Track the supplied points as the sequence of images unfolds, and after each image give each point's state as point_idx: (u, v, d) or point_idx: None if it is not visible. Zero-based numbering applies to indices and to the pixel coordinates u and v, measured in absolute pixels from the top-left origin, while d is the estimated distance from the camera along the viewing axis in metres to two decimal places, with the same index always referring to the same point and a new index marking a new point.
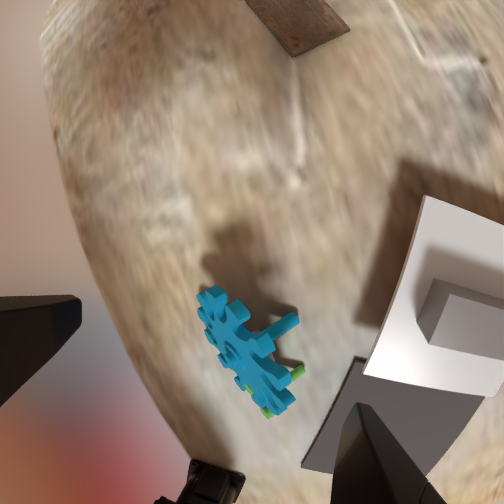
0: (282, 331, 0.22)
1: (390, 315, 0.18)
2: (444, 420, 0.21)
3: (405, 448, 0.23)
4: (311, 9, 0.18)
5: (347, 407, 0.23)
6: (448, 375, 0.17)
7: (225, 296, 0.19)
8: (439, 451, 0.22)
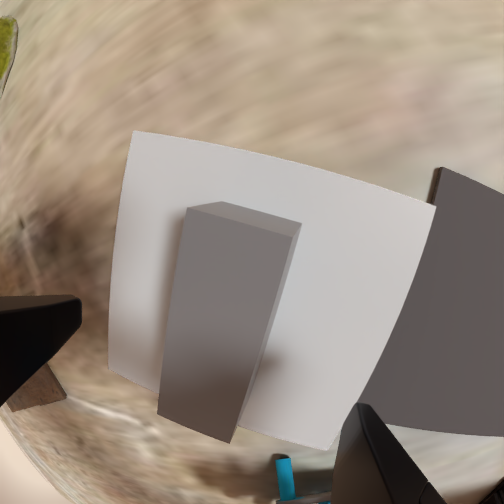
0: (285, 481, 0.16)
1: (240, 424, 0.13)
2: (493, 256, 0.12)
3: None
4: None
5: (421, 415, 0.15)
6: (355, 339, 0.11)
7: None
8: None
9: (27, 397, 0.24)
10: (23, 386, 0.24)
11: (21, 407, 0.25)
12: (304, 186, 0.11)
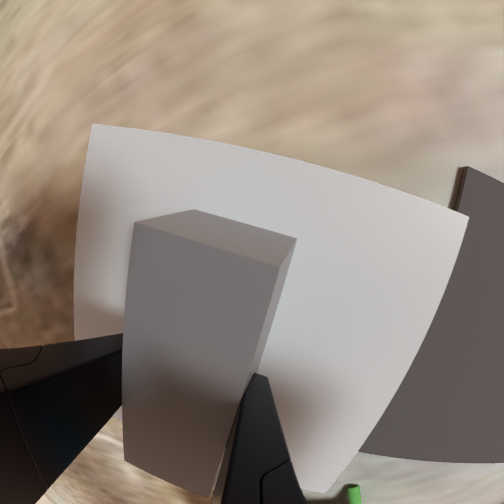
0: None
1: None
2: None
3: None
4: None
5: (431, 447, 0.12)
6: (362, 381, 0.09)
7: None
8: None
9: None
10: None
11: None
12: (299, 190, 0.08)
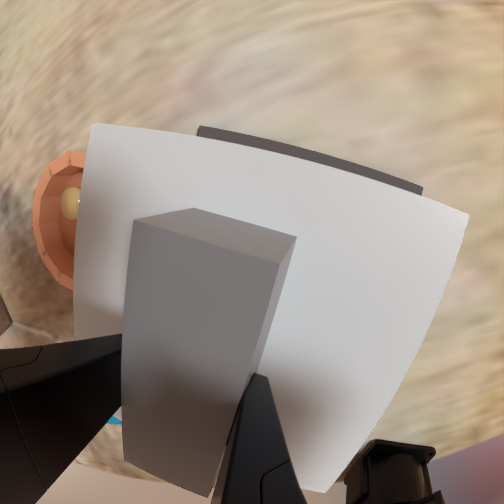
0: None
1: None
2: None
3: None
4: None
5: None
6: (362, 380, 0.09)
7: None
8: None
9: None
10: None
11: None
12: (299, 187, 0.08)
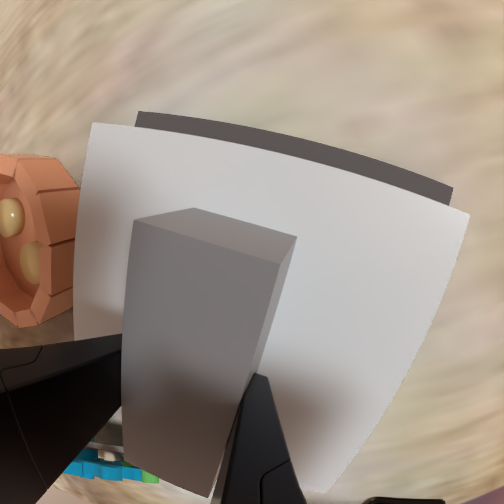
0: None
1: None
2: None
3: None
4: None
5: None
6: (363, 380, 0.09)
7: None
8: None
9: None
10: None
11: None
12: (299, 187, 0.08)
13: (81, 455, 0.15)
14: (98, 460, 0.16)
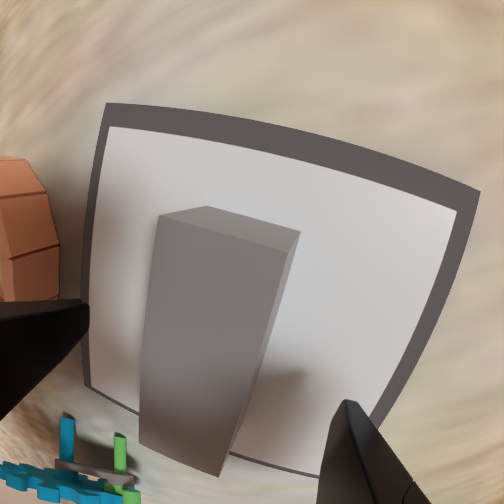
0: (62, 440, 0.15)
1: (233, 450, 0.12)
2: None
3: None
4: None
5: None
6: (361, 364, 0.10)
7: (20, 465, 0.13)
8: (313, 162, 0.09)
9: None
10: None
11: None
12: (302, 188, 0.09)
13: (60, 476, 0.13)
14: (78, 482, 0.13)
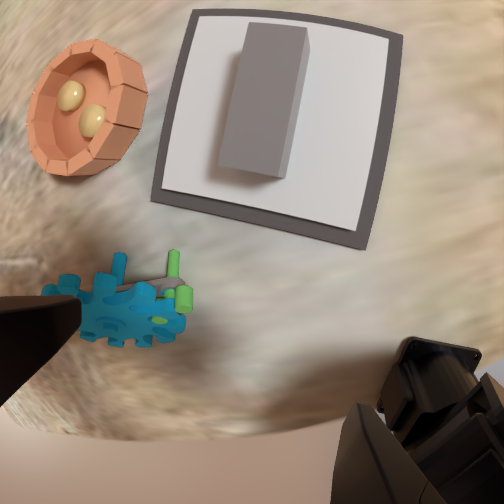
0: (114, 271, 0.20)
1: (279, 210, 0.18)
2: None
3: None
4: None
5: None
6: (356, 116, 0.16)
7: None
8: None
9: None
10: None
11: None
12: (308, 32, 0.15)
13: None
14: None
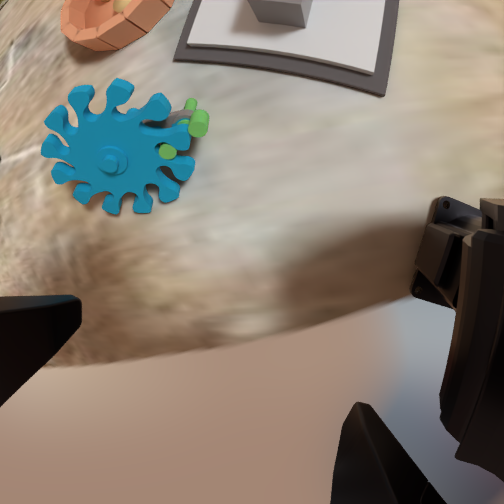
0: None
1: (300, 52, 0.16)
2: None
3: None
4: None
5: None
6: None
7: (57, 163, 0.17)
8: None
9: None
10: None
11: None
12: None
13: None
14: None
